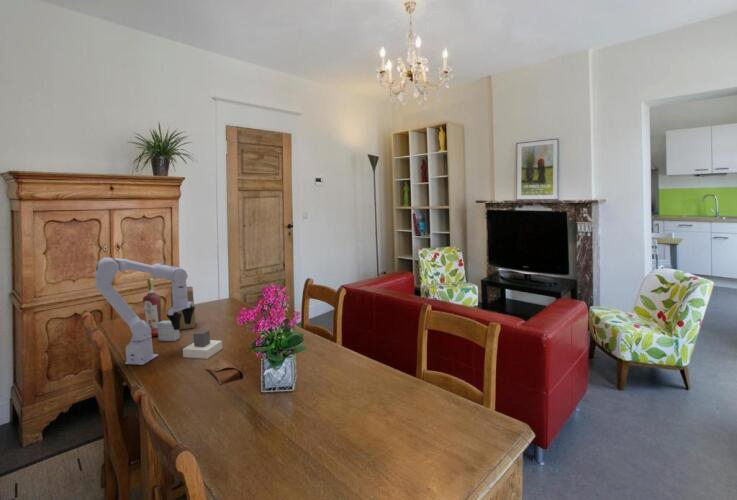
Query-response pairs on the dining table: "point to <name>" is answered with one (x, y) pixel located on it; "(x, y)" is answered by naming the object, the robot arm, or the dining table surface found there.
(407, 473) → the dining table surface
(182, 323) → the wooden block
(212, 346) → the white flat panel
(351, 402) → the dining table surface
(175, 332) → the medicine box
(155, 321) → the liquor
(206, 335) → the charcoal block
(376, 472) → the dining table surface
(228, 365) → the sunglasses case
